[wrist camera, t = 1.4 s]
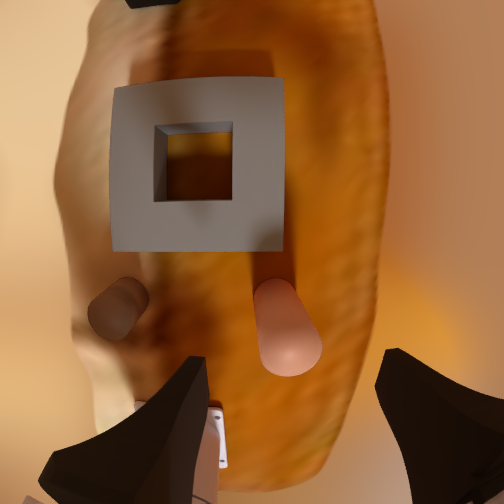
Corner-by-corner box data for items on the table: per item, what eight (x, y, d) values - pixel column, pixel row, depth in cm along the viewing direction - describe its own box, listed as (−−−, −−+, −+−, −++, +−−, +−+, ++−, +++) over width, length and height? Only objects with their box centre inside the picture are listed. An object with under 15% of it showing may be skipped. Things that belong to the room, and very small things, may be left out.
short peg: (150, 316, 20) (133, 342, 16) (115, 314, 20) (92, 338, 16) (146, 277, 19) (125, 297, 15) (109, 276, 19) (83, 295, 15)
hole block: (276, 241, 19) (283, 251, 16) (130, 242, 18) (112, 251, 16) (277, 93, 17) (283, 77, 14) (131, 101, 16) (114, 88, 13)
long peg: (294, 317, 20) (318, 373, 13) (253, 318, 20) (259, 377, 13) (297, 278, 19) (325, 322, 13) (253, 278, 19) (260, 324, 13)
